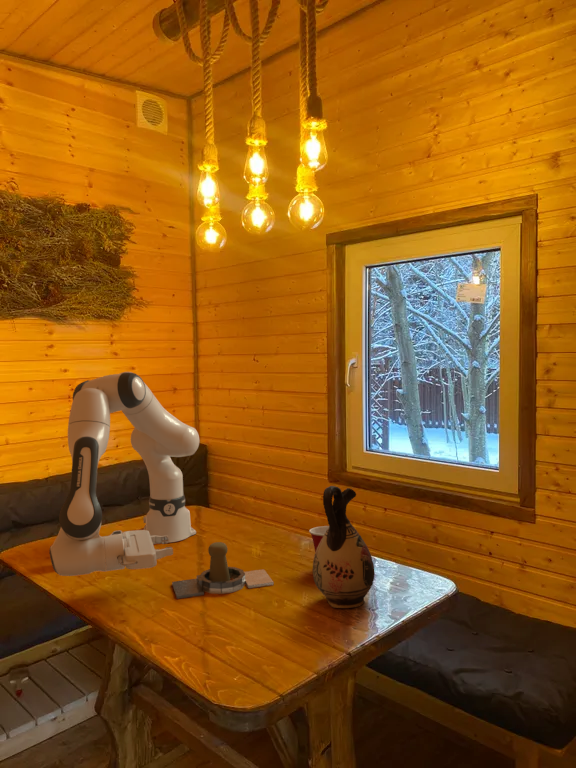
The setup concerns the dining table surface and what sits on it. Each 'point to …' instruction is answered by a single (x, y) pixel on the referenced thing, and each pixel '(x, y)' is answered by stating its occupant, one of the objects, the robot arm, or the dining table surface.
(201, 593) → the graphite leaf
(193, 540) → the dining table surface
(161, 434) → the robot arm
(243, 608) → the dining table surface
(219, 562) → the cork
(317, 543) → the plastic cup
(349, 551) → the ceramic jug
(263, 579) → the ring
